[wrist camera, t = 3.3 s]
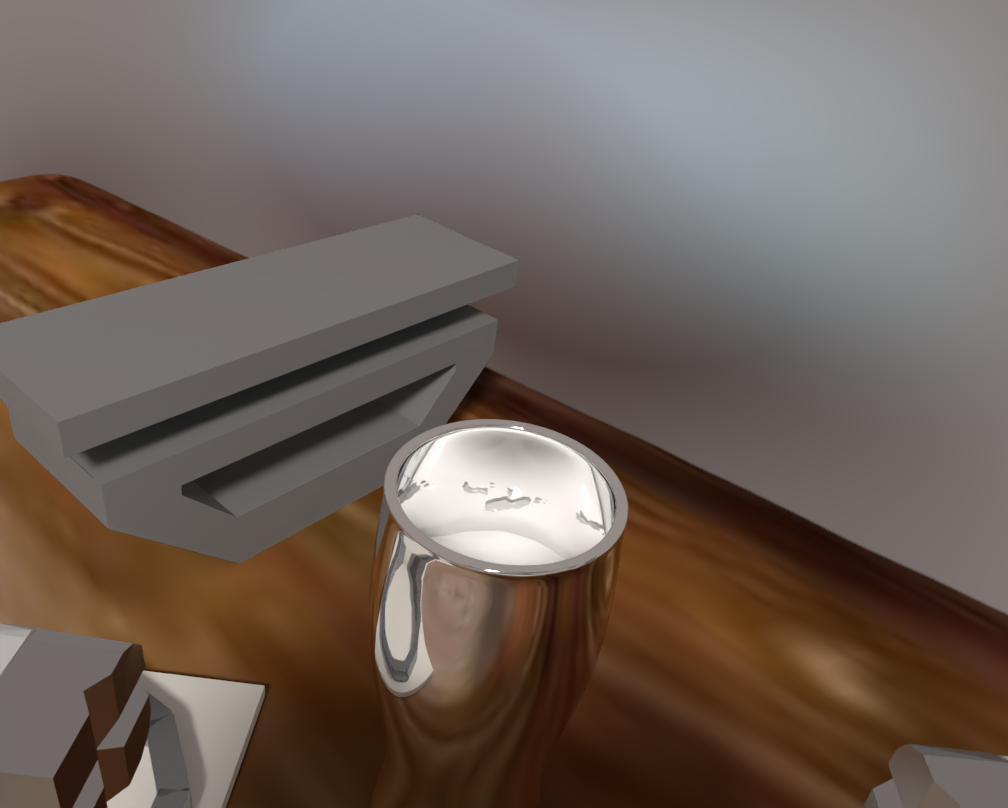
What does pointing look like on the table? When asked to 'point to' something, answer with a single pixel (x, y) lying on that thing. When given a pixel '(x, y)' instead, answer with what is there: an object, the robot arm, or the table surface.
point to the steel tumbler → (487, 607)
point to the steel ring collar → (167, 759)
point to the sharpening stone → (254, 382)
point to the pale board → (199, 736)
